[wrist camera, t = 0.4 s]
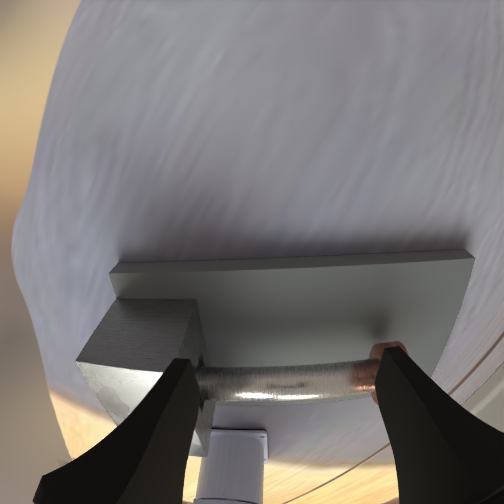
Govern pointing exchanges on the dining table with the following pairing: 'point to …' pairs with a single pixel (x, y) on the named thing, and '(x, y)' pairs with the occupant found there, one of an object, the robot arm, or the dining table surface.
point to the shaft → (292, 380)
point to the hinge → (489, 401)
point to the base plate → (312, 306)
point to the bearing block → (145, 356)
